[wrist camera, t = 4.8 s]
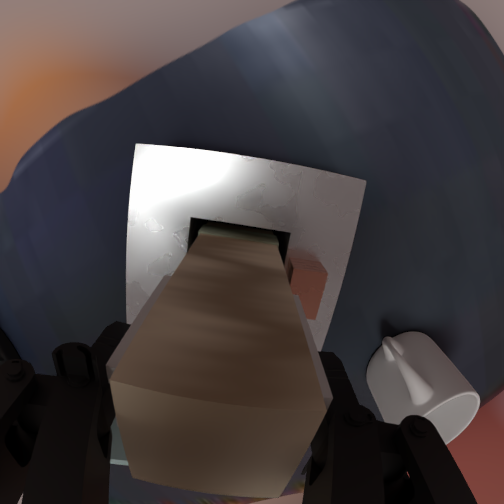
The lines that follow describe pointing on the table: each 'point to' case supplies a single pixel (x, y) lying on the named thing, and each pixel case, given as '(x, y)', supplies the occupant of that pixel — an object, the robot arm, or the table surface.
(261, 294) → the column
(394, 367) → the mug
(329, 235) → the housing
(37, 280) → the table surface
